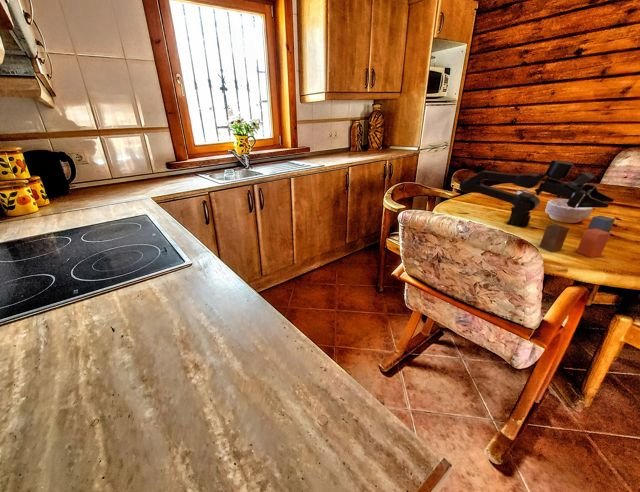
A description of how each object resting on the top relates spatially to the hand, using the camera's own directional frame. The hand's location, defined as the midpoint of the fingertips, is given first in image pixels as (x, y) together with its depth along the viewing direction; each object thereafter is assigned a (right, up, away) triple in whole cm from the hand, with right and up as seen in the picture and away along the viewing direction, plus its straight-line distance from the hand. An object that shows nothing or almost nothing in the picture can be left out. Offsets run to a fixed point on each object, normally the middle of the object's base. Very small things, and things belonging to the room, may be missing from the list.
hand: (610, 203), depth 103 cm
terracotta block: (-10, -19, -2) cm, 21 cm away
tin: (+6, +3, +46) cm, 47 cm away
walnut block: (-20, -17, +3) cm, 26 cm away
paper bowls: (+10, -5, +27) cm, 30 cm away
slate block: (+4, -13, +9) cm, 16 cm away
